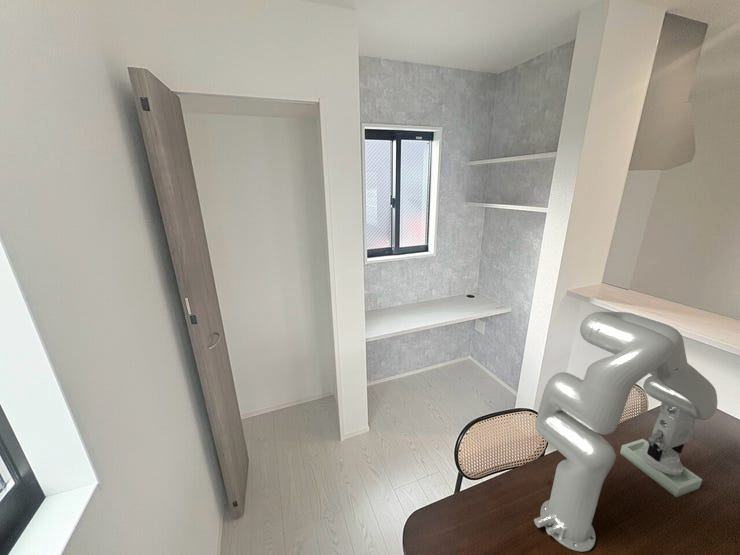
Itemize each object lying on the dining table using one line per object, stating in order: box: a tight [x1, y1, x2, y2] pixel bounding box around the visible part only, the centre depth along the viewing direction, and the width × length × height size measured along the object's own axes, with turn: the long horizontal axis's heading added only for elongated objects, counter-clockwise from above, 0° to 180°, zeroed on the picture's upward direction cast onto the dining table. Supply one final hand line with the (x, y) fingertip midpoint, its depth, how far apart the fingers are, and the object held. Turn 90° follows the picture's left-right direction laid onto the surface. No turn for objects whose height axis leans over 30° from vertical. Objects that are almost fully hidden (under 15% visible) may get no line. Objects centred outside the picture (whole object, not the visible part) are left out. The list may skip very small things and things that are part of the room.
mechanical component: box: [640, 441, 684, 475], centre depth 94 cm, size 10×4×10 cm
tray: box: [619, 438, 703, 498], centre depth 96 cm, size 10×16×4 cm, turn 15°
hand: (663, 453), depth 95 cm, fingers open, 9 cm apart
